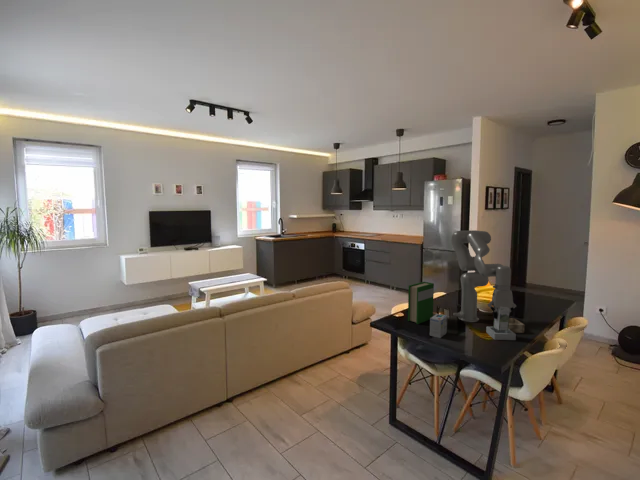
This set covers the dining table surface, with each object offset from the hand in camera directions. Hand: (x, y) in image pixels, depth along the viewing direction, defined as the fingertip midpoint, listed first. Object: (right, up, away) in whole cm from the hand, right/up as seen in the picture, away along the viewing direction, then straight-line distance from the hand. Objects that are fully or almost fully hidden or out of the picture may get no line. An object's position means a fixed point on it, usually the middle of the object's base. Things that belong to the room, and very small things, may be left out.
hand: (501, 318), depth 192 cm
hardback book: (-38, -8, +30) cm, 49 cm away
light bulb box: (-35, -11, +5) cm, 37 cm away
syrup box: (0, -7, +1) cm, 7 cm away
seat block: (0, -11, +1) cm, 11 cm away
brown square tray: (+11, -10, +12) cm, 19 cm away
